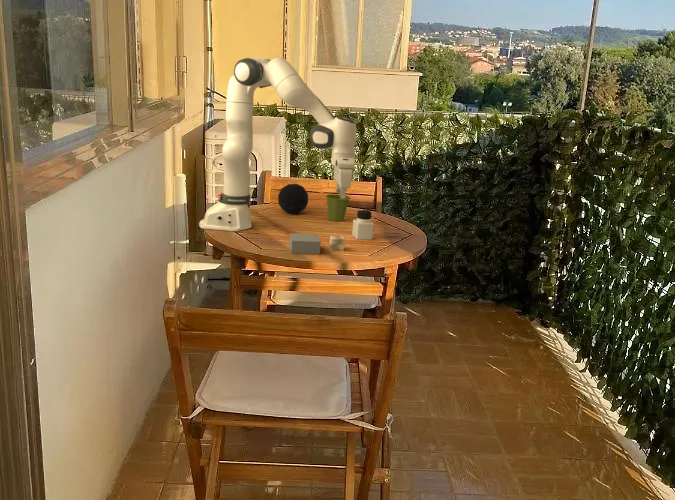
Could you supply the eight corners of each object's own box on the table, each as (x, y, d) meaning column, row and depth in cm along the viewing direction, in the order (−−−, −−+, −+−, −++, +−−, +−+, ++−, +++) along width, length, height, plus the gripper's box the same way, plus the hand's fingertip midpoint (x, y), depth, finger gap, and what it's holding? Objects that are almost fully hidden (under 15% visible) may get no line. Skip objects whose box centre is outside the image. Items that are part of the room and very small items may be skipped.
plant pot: (344, 224, 293) (346, 200, 290) (320, 220, 297) (321, 197, 293) (352, 219, 304) (354, 196, 301) (328, 215, 307) (330, 192, 304)
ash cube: (330, 251, 250) (331, 239, 249) (329, 247, 255) (330, 235, 253) (343, 251, 251) (344, 239, 250) (341, 247, 256) (342, 236, 254)
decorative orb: (287, 196, 318) (281, 175, 306) (315, 200, 313) (309, 179, 301) (277, 217, 310) (270, 196, 298) (305, 222, 305) (299, 201, 294)
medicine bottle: (372, 239, 271) (375, 212, 267) (356, 239, 269) (359, 212, 265) (367, 235, 277) (369, 208, 274) (351, 235, 275) (354, 208, 272)
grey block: (291, 253, 243) (292, 240, 241) (289, 245, 253) (289, 233, 252) (319, 254, 245) (320, 241, 243) (316, 246, 255) (317, 234, 254)
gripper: (331, 155, 252) (329, 190, 256) (338, 164, 233) (336, 200, 237) (346, 156, 253) (344, 190, 257) (355, 164, 234) (352, 201, 238)
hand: (340, 195), depth 247 cm, fingers open, 8 cm apart
